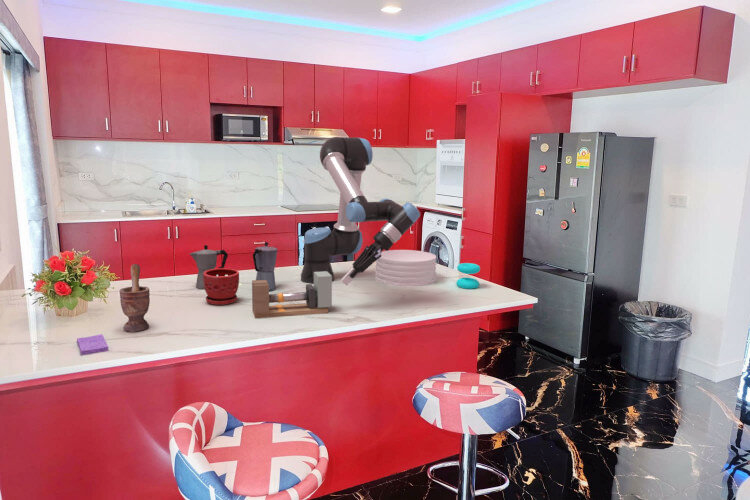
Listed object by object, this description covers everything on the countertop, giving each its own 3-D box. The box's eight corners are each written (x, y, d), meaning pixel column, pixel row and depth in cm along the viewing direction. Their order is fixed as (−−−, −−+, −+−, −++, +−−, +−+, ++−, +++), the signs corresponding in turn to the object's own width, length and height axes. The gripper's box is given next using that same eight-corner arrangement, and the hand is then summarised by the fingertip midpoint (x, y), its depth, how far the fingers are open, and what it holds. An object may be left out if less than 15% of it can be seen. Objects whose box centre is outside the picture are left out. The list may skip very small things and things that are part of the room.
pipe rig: (252, 310, 189) (251, 280, 187) (322, 305, 197) (322, 276, 195) (254, 318, 181) (254, 286, 179) (327, 312, 189) (328, 282, 187)
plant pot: (196, 304, 196) (195, 273, 194) (219, 295, 208) (218, 266, 206) (225, 308, 191) (224, 276, 189) (246, 299, 203) (246, 269, 201)
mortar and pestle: (116, 324, 171) (112, 265, 167) (144, 320, 176) (140, 262, 173) (126, 334, 162) (122, 272, 158) (155, 329, 168) (151, 268, 164)
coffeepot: (191, 290, 214) (189, 247, 211) (190, 285, 223) (188, 244, 219) (230, 287, 220) (229, 246, 217) (227, 282, 229) (226, 242, 225)
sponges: (81, 357, 145) (80, 350, 145) (76, 343, 155) (76, 337, 155) (109, 352, 149) (108, 346, 149) (103, 339, 159) (102, 333, 159)
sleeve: (313, 301, 195) (313, 271, 193) (326, 300, 197) (326, 271, 195) (318, 307, 188) (318, 276, 186) (331, 306, 189) (331, 276, 187)
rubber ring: (306, 302, 194) (305, 284, 193) (311, 302, 194) (311, 284, 193) (309, 307, 187) (309, 289, 186) (315, 307, 188) (315, 288, 187)
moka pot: (284, 286, 225) (283, 240, 221) (265, 295, 210) (264, 246, 207) (264, 284, 228) (264, 239, 224) (245, 292, 213) (244, 244, 210)
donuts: (464, 261, 236) (484, 264, 231) (462, 282, 238) (482, 286, 232) (453, 264, 229) (473, 268, 223) (452, 286, 230) (472, 290, 225)
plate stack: (445, 278, 247) (446, 254, 245) (417, 290, 224) (418, 264, 222) (394, 270, 262) (395, 247, 260) (363, 280, 239) (364, 256, 237)
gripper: (399, 246, 191) (355, 293, 188) (387, 241, 203) (345, 285, 201) (386, 232, 188) (341, 280, 186) (374, 227, 200) (332, 272, 198)
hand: (343, 282), depth 193 cm, fingers closed
